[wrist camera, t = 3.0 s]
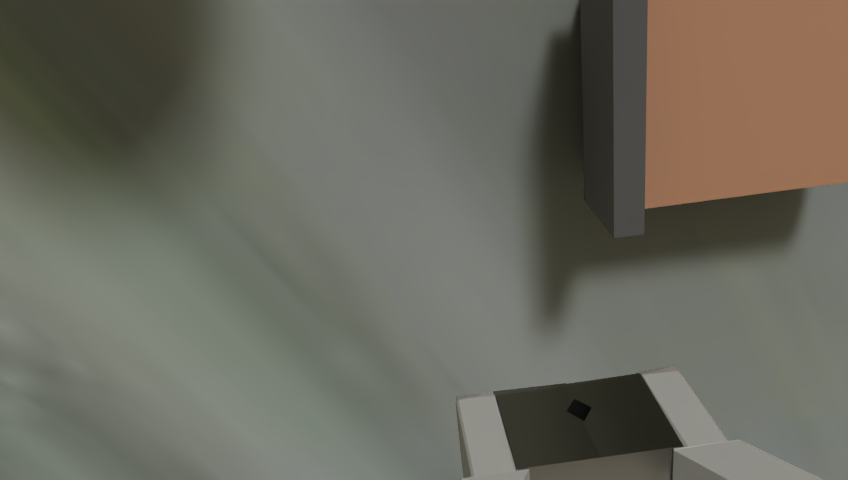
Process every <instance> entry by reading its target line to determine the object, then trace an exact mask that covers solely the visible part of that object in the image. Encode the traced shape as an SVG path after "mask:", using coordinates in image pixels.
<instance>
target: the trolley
mask: <svg viewBox="0 0 848 480" xmlns="http://www.w3.org/2000/svg"><path fill="white" fill-rule="evenodd" d="M580 15H581V62H582V109H583V156H584V200H585V201H586V203H587V204H588V205H589V206H590V208H591V209H592V210H593V212H594V213H595V214H596V216H597V217H598V218H599V219H600V221H601V222H602V223H603V225H604V226H605V227H606V229H607V230H608V231H609V232H610V234H611V235H612V236H613V238H621V237H628V236H636V235H643V234H645V209H647V208H655V207H663V206H670V205H678V204H685V203H693V202H701V201H708V200H716V199H724V198H731V197H739V196H746V195H754V194H762V193H769V192H777V191H784V190H792V189H800V188H807V187H815V186H823V185H830V184H838V183H845V182H848V0H580Z"/></svg>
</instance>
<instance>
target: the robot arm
mask: <svg viewBox="0 0 848 480" xmlns="http://www.w3.org/2000/svg"><path fill="white" fill-rule="evenodd" d="M456 412H457V422H458V431H459V441H460V451H461V461H462V469H463V477H464V478H461V479H460V480H823V479H821V478H819V477H817V476H814V475H812V474H810V473H808V472H806V471H804V470H802V469H800V468H798V467H796V466H794V465H792V464H789V463H787V462H785V461H783V460H781V459H779V458H777V457H775V456H773V455H771V454H769V453H767V452H764V451H762V450H760V449H758V448H756V447H754V446H752V445H750V444H748V443H746V442H744V441H741V440H733V441H728V440H727V438H726V437H725V435H724V434H723V432H722V431H721V430H720V428H719V427H718V425H717V424H716V422H715V421H714V420H713V418H712V417H711V415H710V414H709V413H708V411H707V410H706V408H705V407H704V405H703V404H702V403H701V401H700V400H699V398H698V397H697V396H696V394H695V393H694V391H693V390H692V388H691V387H690V386H689V384H688V383H687V381H686V380H685V379H684V377H683V376H682V374H681V373H680V371H679V370H678V369H676V368H674V367H667V368H661V369H655V370H649V371H643V372H637V373H636V374H631V375H624V376H617V377H610V378H603V379H597V380H590V381H583V382H576V383H569V384H566V383H563V384H554V385H546V386H537V387H528V388H519V389H511V390H502V391H493V393H492V392H486V393H478V394H471V395H463V396H456Z"/></svg>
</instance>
